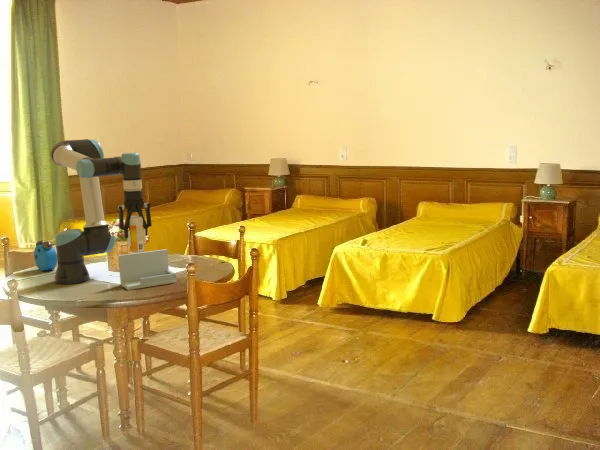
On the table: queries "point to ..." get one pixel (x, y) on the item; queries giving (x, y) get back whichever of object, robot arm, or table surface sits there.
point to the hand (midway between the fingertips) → (136, 244)
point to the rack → (145, 269)
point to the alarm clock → (45, 255)
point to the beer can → (136, 234)
